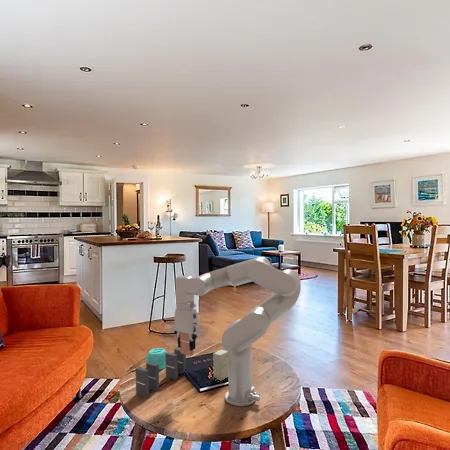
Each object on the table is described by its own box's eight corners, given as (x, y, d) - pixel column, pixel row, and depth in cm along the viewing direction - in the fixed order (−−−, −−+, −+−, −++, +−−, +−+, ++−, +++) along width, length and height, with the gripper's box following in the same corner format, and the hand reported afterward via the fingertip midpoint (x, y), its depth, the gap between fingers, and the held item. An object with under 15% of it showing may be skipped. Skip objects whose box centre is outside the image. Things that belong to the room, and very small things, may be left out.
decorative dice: (145, 369, 167) (145, 353, 167) (154, 362, 175) (153, 347, 174) (160, 371, 165) (160, 355, 164) (168, 364, 172) (168, 348, 172)
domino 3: (168, 375, 160) (168, 352, 160) (177, 378, 157) (177, 354, 157) (165, 377, 158) (165, 353, 158) (175, 380, 155) (174, 356, 155)
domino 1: (139, 392, 145) (138, 366, 145) (149, 396, 142) (148, 369, 142) (136, 394, 143) (135, 368, 143) (145, 398, 140) (145, 371, 140)
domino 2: (149, 386, 150) (149, 361, 150) (159, 389, 147) (158, 364, 147) (146, 388, 148) (146, 363, 148) (156, 391, 145) (155, 366, 145)
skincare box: (220, 382, 152) (220, 355, 152) (213, 380, 155) (212, 353, 155) (229, 377, 157) (228, 351, 157) (221, 374, 160) (221, 348, 160)
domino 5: (183, 351, 147) (182, 326, 147) (193, 354, 144) (192, 328, 144) (180, 353, 145) (179, 327, 145) (190, 355, 142) (189, 329, 142)
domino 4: (177, 370, 165) (176, 347, 165) (186, 373, 162) (185, 350, 162) (174, 372, 164) (174, 349, 163) (183, 374, 160) (183, 351, 160)
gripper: (207, 305, 143) (208, 348, 143) (175, 301, 152) (177, 341, 152) (195, 310, 136) (197, 355, 137) (163, 305, 146) (165, 347, 146)
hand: (186, 347), depth 145 cm, fingers closed on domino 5, 5 cm apart
